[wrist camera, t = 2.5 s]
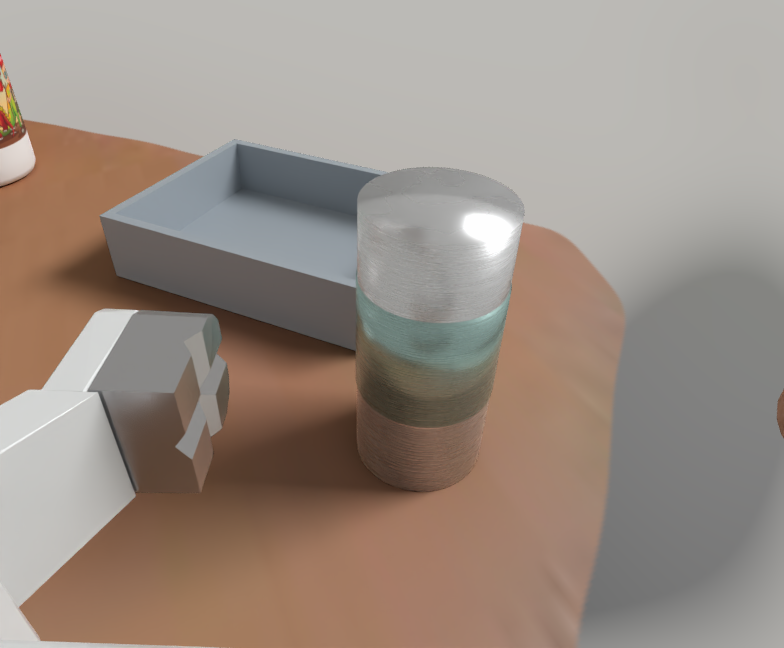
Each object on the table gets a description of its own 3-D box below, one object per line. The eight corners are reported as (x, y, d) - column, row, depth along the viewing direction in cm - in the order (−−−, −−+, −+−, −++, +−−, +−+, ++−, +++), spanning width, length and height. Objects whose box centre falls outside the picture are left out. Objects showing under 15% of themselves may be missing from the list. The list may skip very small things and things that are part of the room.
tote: (116, 275, 37) (99, 215, 35) (240, 190, 47) (234, 139, 45) (371, 355, 32) (372, 292, 30) (451, 242, 42) (457, 187, 40)
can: (333, 464, 27) (325, 219, 19) (386, 382, 31) (395, 155, 23) (457, 511, 25) (500, 262, 18) (495, 418, 29) (542, 186, 22)
